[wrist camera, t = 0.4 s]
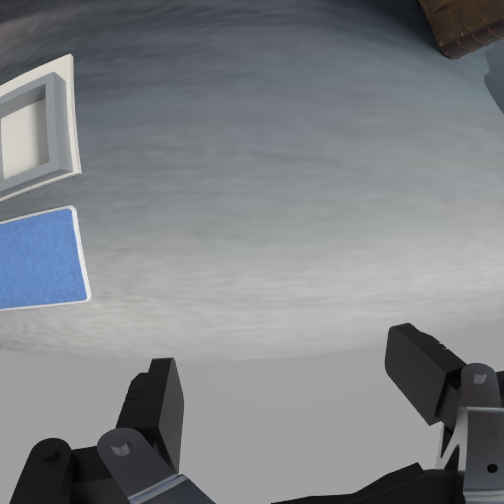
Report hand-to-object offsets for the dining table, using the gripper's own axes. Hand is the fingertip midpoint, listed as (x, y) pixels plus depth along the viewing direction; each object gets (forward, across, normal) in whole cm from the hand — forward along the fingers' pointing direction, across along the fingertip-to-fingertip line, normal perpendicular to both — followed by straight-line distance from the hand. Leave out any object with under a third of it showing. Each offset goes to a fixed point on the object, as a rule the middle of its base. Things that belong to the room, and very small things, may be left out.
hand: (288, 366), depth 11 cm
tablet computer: (+28, +29, +1) cm, 40 cm away
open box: (+28, +26, -17) cm, 42 cm away
